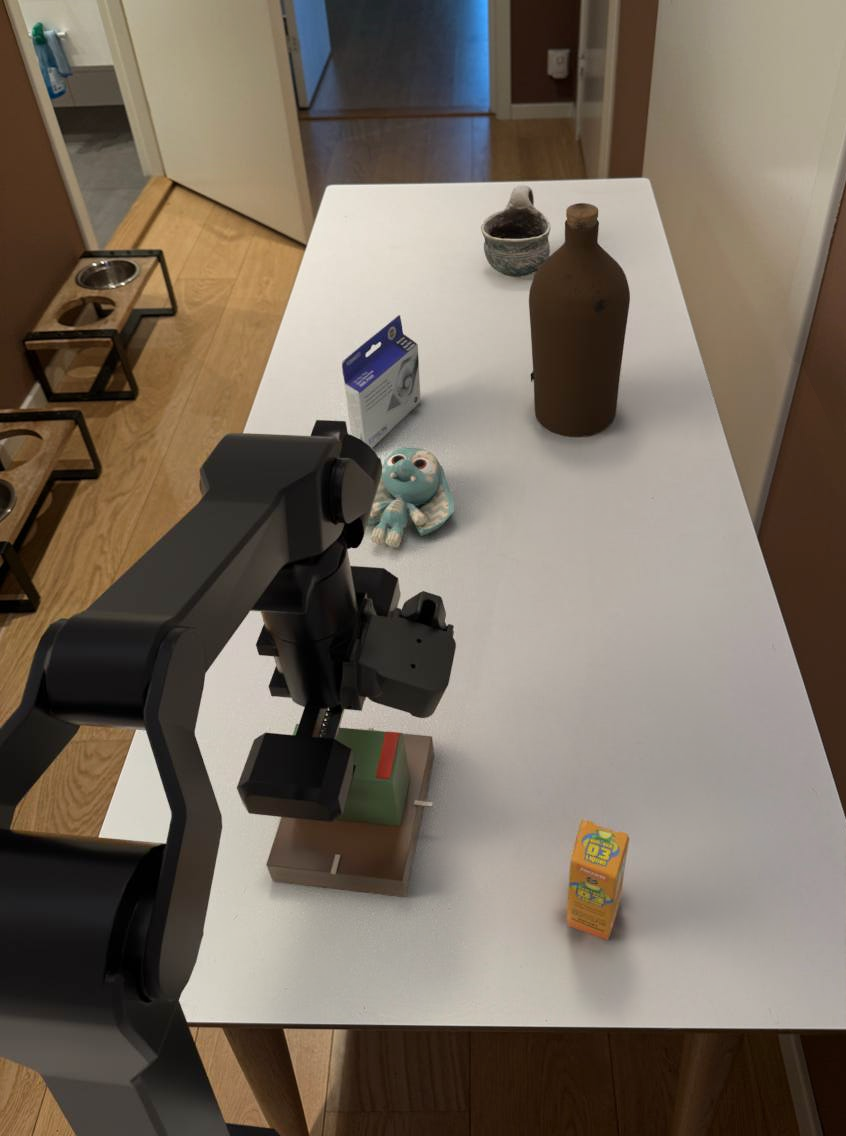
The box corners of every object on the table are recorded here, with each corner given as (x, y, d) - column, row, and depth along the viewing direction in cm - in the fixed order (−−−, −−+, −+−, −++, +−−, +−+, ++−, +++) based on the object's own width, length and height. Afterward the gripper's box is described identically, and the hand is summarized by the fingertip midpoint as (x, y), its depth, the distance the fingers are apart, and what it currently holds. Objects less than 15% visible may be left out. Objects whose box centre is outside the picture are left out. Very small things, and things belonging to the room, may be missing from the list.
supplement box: (562, 929, 67) (565, 858, 60) (577, 884, 69) (582, 811, 62) (608, 946, 66) (617, 876, 59) (622, 900, 68) (632, 828, 61)
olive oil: (638, 407, 111) (657, 203, 95) (586, 453, 105) (596, 244, 89) (564, 376, 117) (570, 178, 100) (510, 418, 111) (506, 215, 94)
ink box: (368, 455, 107) (355, 369, 99) (351, 449, 108) (337, 363, 100) (424, 401, 114) (416, 317, 106) (408, 396, 115) (399, 312, 107)
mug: (481, 287, 134) (478, 219, 127) (484, 244, 143) (482, 180, 136) (550, 286, 133) (551, 218, 126) (549, 243, 142) (550, 178, 136)
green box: (294, 815, 71) (280, 769, 67) (308, 768, 74) (295, 721, 70) (400, 826, 70) (392, 779, 66) (410, 778, 73) (402, 730, 69)
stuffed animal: (324, 508, 92) (368, 418, 99) (340, 550, 98) (380, 462, 105) (429, 529, 89) (467, 434, 96) (438, 571, 95) (474, 479, 102)
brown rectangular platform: (420, 900, 69) (417, 882, 67) (257, 881, 70) (250, 863, 68) (447, 754, 78) (445, 735, 76) (302, 739, 79) (297, 720, 77)
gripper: (411, 752, 50) (432, 891, 61) (463, 511, 64) (473, 658, 74) (208, 732, 52) (263, 871, 62) (302, 501, 65) (334, 647, 76)
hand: (344, 752), depth 68 cm, fingers open, 9 cm apart
